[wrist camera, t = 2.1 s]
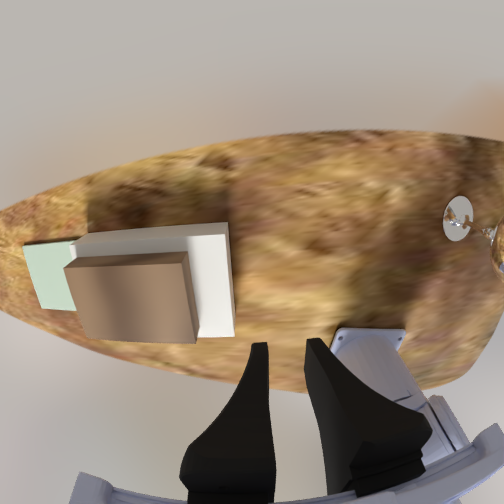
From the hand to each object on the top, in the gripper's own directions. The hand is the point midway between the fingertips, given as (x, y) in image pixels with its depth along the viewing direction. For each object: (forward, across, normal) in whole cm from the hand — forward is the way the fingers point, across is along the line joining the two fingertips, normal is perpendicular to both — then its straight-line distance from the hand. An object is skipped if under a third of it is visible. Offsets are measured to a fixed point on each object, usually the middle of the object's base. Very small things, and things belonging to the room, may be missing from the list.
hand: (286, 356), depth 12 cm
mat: (+10, +20, 0) cm, 22 cm away
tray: (+10, +9, 0) cm, 13 cm away
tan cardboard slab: (+7, +10, 0) cm, 12 cm away
